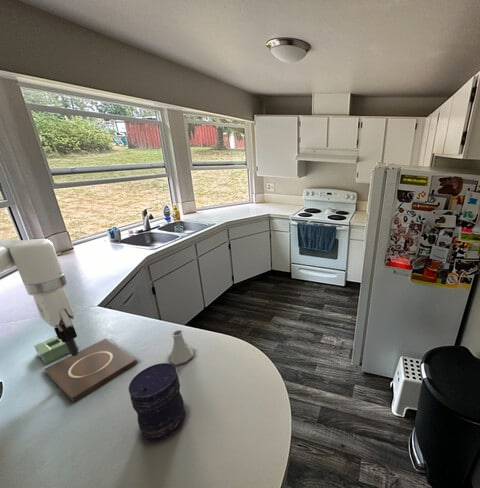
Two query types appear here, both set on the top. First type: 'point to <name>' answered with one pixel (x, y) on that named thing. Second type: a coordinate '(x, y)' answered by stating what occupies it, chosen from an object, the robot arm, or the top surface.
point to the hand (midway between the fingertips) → (67, 337)
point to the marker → (72, 346)
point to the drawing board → (89, 368)
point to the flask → (180, 349)
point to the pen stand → (51, 349)
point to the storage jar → (157, 401)
